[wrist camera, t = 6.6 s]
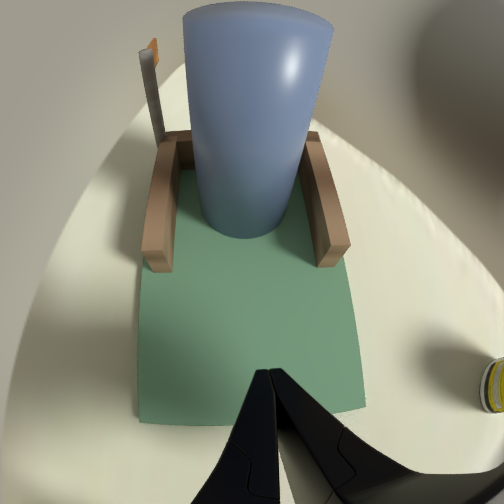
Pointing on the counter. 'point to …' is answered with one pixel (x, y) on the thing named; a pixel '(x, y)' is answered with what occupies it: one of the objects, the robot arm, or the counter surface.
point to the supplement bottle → (493, 387)
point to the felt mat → (242, 319)
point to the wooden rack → (182, 158)
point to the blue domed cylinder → (251, 107)
